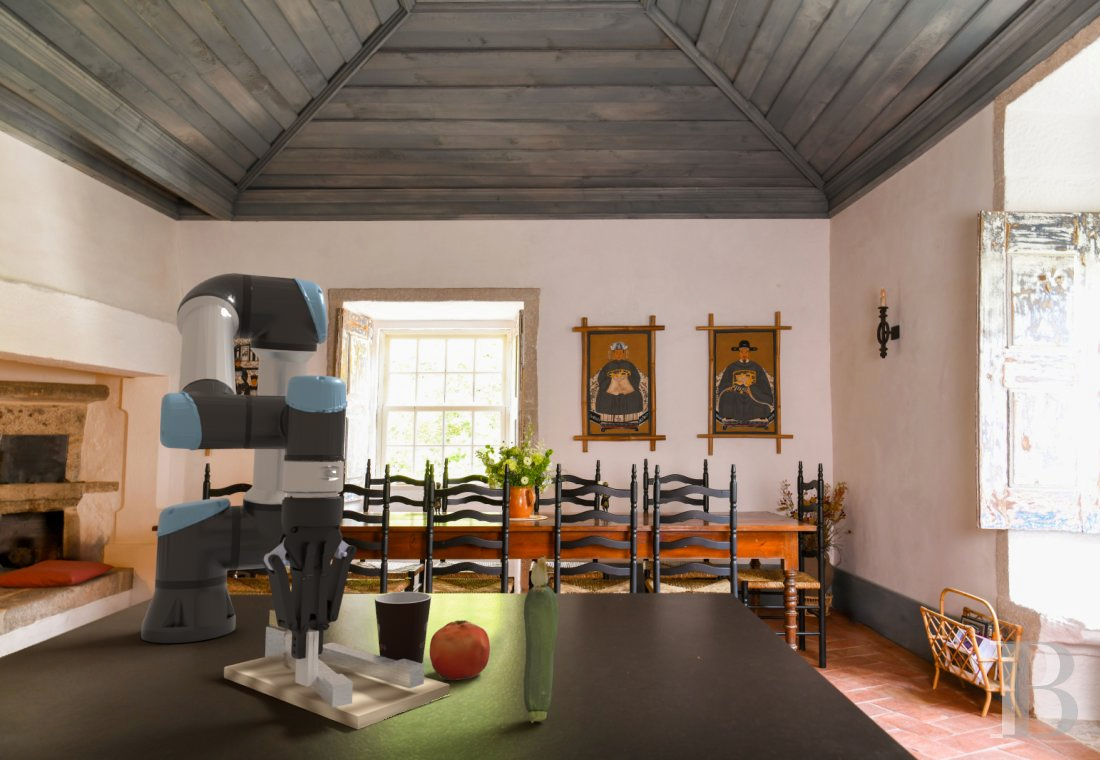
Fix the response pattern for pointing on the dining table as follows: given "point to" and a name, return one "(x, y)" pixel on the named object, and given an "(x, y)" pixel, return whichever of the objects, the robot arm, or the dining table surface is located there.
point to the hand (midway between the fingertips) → (306, 683)
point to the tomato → (459, 650)
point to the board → (367, 707)
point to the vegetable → (539, 642)
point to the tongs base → (349, 659)
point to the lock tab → (273, 618)
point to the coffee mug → (402, 624)
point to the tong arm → (329, 684)
